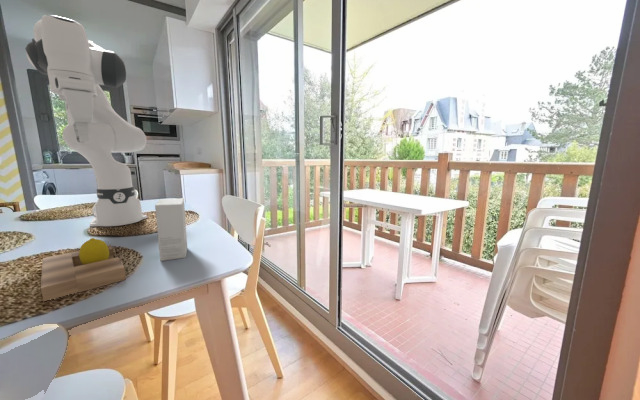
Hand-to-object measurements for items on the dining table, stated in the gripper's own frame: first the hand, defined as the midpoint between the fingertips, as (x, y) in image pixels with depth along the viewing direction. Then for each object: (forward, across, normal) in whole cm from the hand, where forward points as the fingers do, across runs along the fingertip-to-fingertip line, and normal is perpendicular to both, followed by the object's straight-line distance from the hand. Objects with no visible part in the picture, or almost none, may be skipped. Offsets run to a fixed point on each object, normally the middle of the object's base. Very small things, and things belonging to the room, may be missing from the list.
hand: (82, 142), depth 69 cm
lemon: (+31, +13, -2) cm, 34 cm away
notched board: (+31, +15, -5) cm, 35 cm away
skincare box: (+31, +17, +15) cm, 39 cm away
